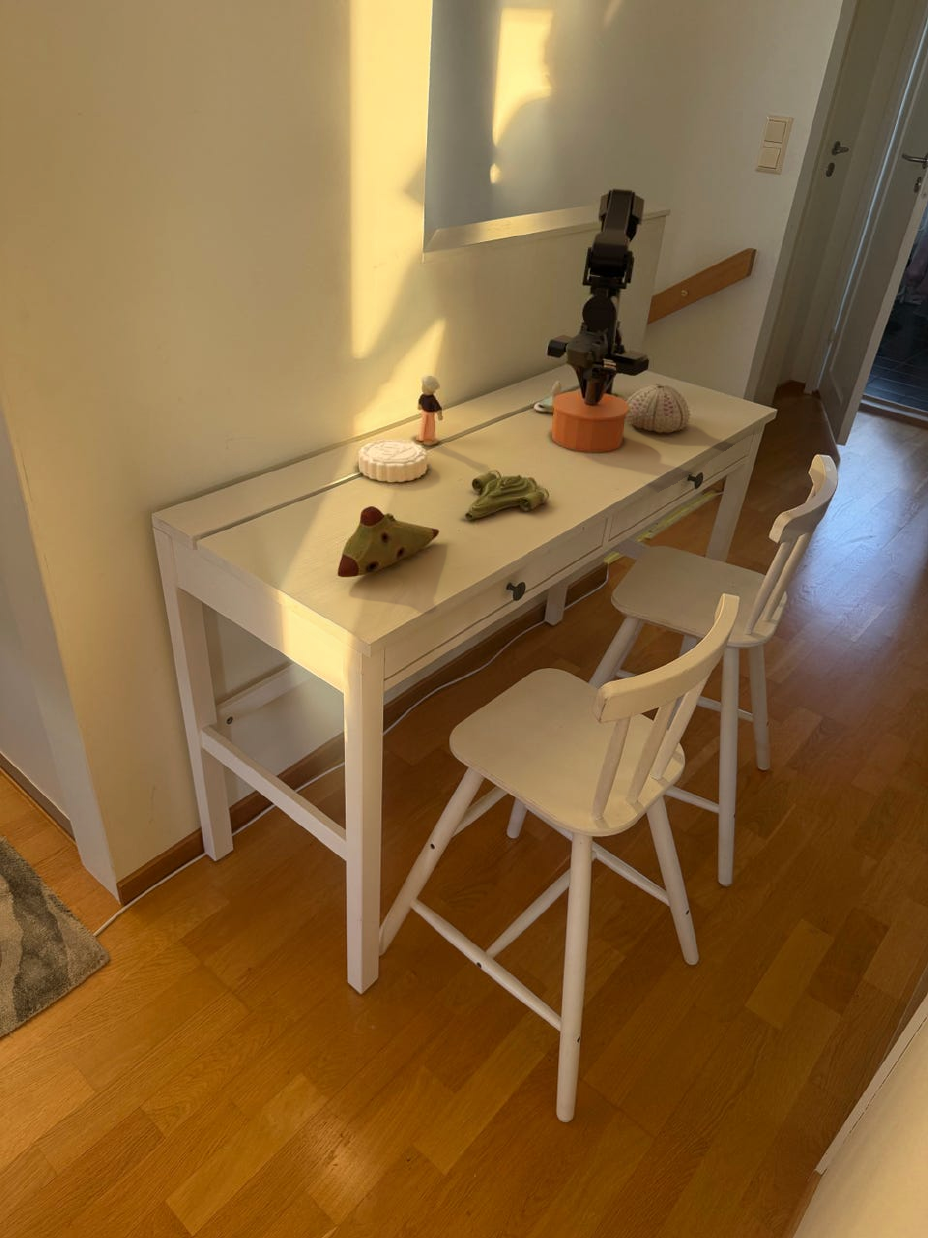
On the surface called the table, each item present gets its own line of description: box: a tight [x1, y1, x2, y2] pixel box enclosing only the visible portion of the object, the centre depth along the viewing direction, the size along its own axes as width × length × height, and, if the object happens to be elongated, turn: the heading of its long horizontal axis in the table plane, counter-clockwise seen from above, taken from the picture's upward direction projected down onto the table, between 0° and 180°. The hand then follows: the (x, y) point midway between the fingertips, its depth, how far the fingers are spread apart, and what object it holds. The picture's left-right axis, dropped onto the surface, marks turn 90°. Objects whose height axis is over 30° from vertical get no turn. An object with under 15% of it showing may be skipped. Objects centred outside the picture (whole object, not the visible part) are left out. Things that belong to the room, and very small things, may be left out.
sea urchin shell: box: [625, 383, 691, 434], centre depth 179 cm, size 13×14×8 cm
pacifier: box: [533, 380, 563, 414], centre depth 184 cm, size 7×6×6 cm
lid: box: [552, 378, 629, 420], centre depth 169 cm, size 15×15×6 cm
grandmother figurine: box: [415, 374, 444, 446], centre depth 165 cm, size 8×4×13 cm, turn 47°
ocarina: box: [337, 505, 440, 578], centre depth 127 cm, size 20×5×10 cm, turn 138°
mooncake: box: [358, 439, 428, 483], centre depth 156 cm, size 12×12×4 cm
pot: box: [550, 408, 627, 453], centre depth 172 cm, size 14×14×6 cm
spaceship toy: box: [464, 469, 550, 521], centre depth 147 cm, size 12×18×4 cm
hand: (591, 399), depth 169 cm, fingers closed on lid, 2 cm apart
